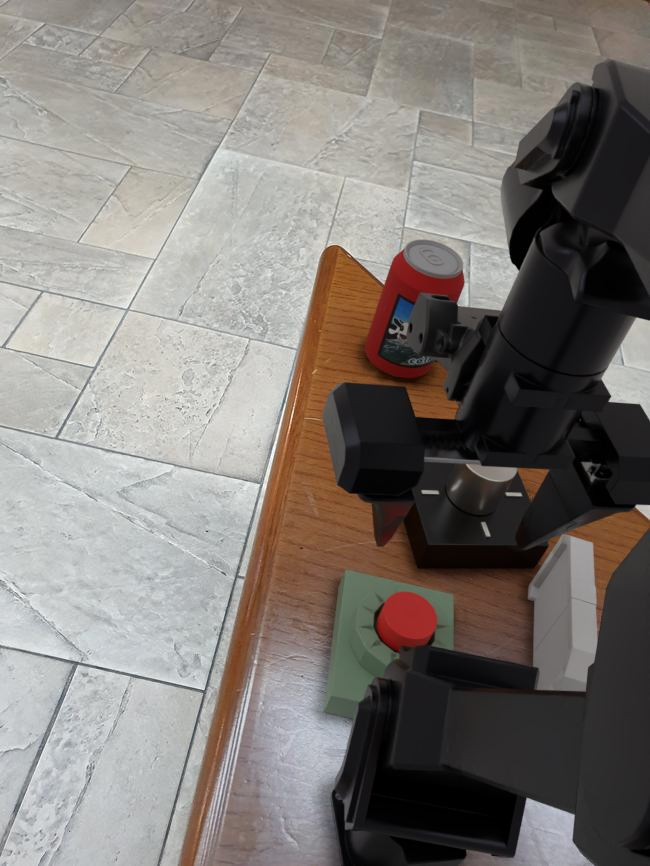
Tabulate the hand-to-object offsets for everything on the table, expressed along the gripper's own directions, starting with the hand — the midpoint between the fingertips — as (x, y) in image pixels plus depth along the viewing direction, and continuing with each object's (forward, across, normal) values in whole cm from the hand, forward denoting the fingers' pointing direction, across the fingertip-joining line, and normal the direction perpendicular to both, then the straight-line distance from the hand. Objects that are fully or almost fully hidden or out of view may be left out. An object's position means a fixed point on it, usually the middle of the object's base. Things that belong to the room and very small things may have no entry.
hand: (450, 542), depth 52 cm
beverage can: (+11, -7, -31) cm, 34 cm away
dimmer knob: (+8, -8, -12) cm, 17 cm away
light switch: (+12, -11, 0) cm, 16 cm away
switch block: (+12, +1, +1) cm, 12 cm away
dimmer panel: (+12, -8, -12) cm, 18 cm away
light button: (+8, +1, +1) cm, 8 cm away
